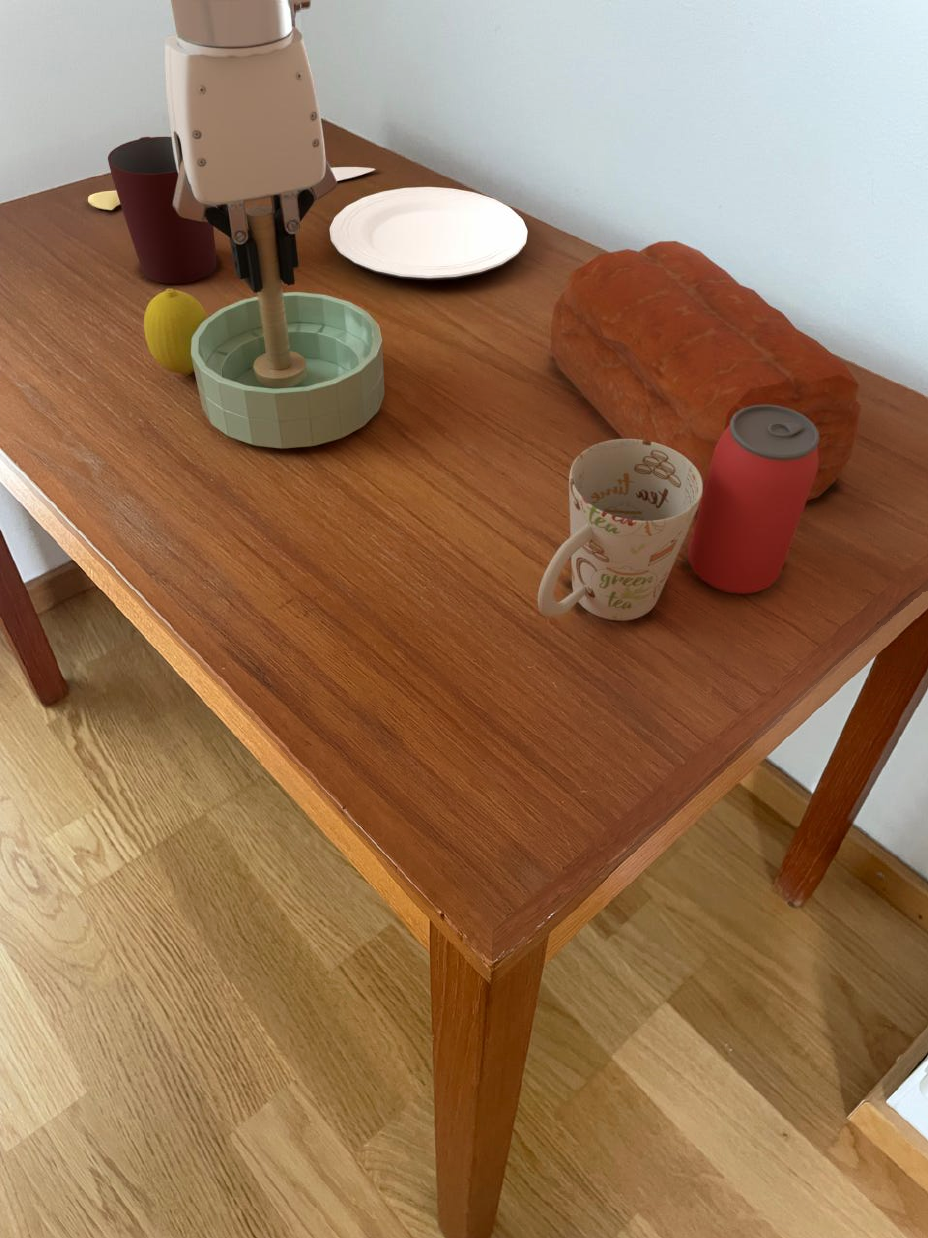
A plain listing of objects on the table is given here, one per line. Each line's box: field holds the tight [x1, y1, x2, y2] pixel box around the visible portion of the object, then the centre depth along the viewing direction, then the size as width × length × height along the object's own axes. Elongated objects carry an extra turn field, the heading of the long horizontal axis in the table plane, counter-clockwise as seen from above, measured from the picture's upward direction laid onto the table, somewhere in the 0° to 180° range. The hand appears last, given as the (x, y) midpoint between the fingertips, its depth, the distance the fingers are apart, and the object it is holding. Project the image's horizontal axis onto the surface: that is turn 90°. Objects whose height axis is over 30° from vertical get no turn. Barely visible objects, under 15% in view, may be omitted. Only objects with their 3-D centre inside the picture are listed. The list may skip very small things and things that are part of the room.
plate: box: [329, 186, 528, 282], centre depth 102 cm, size 21×21×2 cm
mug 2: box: [537, 438, 703, 622], centre depth 63 cm, size 8×13×10 cm, turn 137°
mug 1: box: [107, 136, 217, 285], centre depth 95 cm, size 12×9×11 cm
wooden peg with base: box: [245, 204, 307, 388], centre depth 77 cm, size 4×4×14 cm
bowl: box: [191, 291, 385, 449], centre depth 80 cm, size 15×15×6 cm
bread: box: [550, 240, 862, 513], centre depth 78 cm, size 16×27×11 cm, turn 24°
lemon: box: [143, 288, 209, 377], centre depth 82 cm, size 6×6×8 cm
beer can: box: [687, 404, 819, 595], centre depth 65 cm, size 7×7×12 cm
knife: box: [87, 166, 376, 211], centre depth 110 cm, size 1×33×4 cm
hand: (268, 279), depth 76 cm, fingers closed on wooden peg with base, 2 cm apart
